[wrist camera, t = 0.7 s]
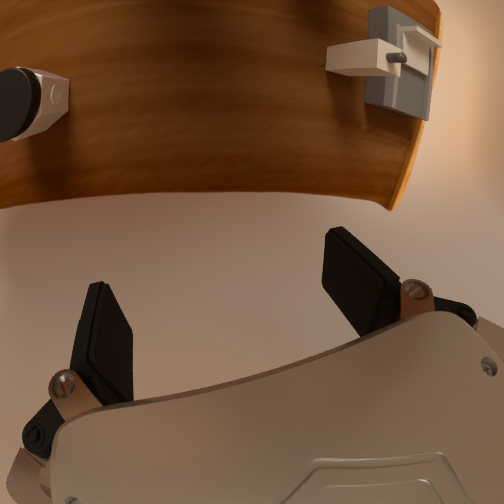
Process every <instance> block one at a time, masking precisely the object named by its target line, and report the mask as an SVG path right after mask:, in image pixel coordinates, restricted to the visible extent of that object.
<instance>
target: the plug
mask: <svg viewBox="0 0 504 504" xmlns="http://www.w3.org/2000/svg"><path fill="white" fill-rule="evenodd" d="M406 62H407V57H406V55H405V54H404V53H403V52H402V49H400V48H398V47H396V46H394V45H392V44H390V43H387V42H385V41H383V40H381V39H379V38H376V39H369V40H362V41H356V42H350V43H344V44H339V45H334V46H330V47H327V57H326V71H330V72H334V73H338V74H342V75H345V76H388V77H400V71H401V63H406Z"/></svg>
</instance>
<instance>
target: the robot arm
mask: <svg viewBox="0 0 504 504" xmlns="http://www.w3.org/2000/svg"><path fill="white" fill-rule="evenodd" d="M399 279H400V277H399V276H398V275H397V274H396V273H395V272H393V271H392V270H391V269H390V268H389V267H388V266H387V265H386V264H385V263H384V262H383V261H382V260H380V259H379V258H378V257H377V256H376V255H375V254H374V253H373V252H371V251H370V250H369V249H368V248H367V247H366V246H365V245H364V244H362V243H361V242H360V241H359V240H358V239H356V237H354V236H353V235H352V234H351V233H350V232H348V231H347V230H346V229H345V228H344V227H342V226H340V227H336V228H331V229H329V231H328V233H326V235H325V249H324V261H323V273H322V285H323V288H324V289H325V291H326V292H327V293H328V294H329V296H330V297H331V298H332V300H333V301H334V302H335V304H336V305H337V306H338V308H339V309H340V310H341V312H342V313H343V314H344V316H345V317H346V318H347V320H348V321H349V322H350V324H351V325H352V326H353V328H354V329H355V330H356V332H357V333H358V334H359V336H360V338H358V339H355V340H353V341H350V342H348V343H345V344H343V345H341V346H338V347H335V348H333V349H330V350H328V351H325V352H322V353H320V354H317V355H314V356H311V357H308V358H306V359H303V360H300V361H297V362H294V363H291V364H288V365H285V366H282V367H279V368H276V369H272V370H269V371H266V372H262V373H259V374H256V375H252V376H248V377H245V378H241V379H237V380H234V381H230V382H226V383H222V384H218V385H214V386H209V387H205V388H200V389H196V390H192V391H187V392H181V393H177V394H171V395H165V396H160V397H154V398H148V399H142V400H136V401H134V396H133V333H132V329H131V327H130V326H129V324H128V322H127V320H126V318H125V316H124V314H123V312H122V310H121V309H120V306H119V304H118V302H117V300H116V298H115V297H114V294H113V292H112V290H111V288H110V286H109V284H105V283H104V282H103V281H100V282H96V283H92V284H90V285H89V288H88V292H87V295H86V299H85V303H84V307H83V310H82V315H81V319H80V320H79V323H78V327H77V332H76V336H75V341H74V346H73V351H72V357H71V362H70V368H69V369H64V370H61V371H59V372H57V373H56V374H55V375H54V376H53V377H52V379H51V381H50V383H49V387H48V390H49V395H50V397H51V399H50V400H49V401H48V402H47V403H46V404H45V405H44V406H43V407H42V408H41V409H40V410H39V411H38V413H37V414H36V415H35V416H34V417H33V418H32V419H31V420H30V421H29V422H28V423H27V424H26V426H25V427H24V430H23V433H22V440H23V444H24V448H23V449H22V448H20V449H19V451H18V454H17V456H16V458H15V461H14V463H13V465H12V467H11V470H10V472H9V475H8V477H7V481H6V485H7V490H8V493H9V494H10V496H11V497H12V498H13V499H14V500H15V501H16V502H17V503H18V504H504V329H503V328H502V327H500V326H498V325H496V324H494V323H492V322H490V321H488V320H486V319H484V318H482V317H480V316H479V318H478V319H477V317H476V314H475V312H474V310H473V309H472V308H471V307H469V306H468V305H466V304H463V303H460V302H455V301H451V300H447V299H443V298H438V297H434V296H433V293H432V290H431V288H430V287H429V286H428V285H427V284H426V283H424V282H422V281H420V280H417V279H408V280H406V281H404V282H403V283H402V284H401V283H400V282H399Z"/></svg>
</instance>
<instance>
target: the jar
mask: <svg viewBox="0 0 504 504" xmlns="http://www.w3.org/2000/svg"><path fill="white" fill-rule="evenodd" d="M68 100H69V80H68V79H66V78H63V77H61V76H58V75H56V74H53V73H50V72H48V71H43V70H37V69H31V68H24V67H13V68H8V69H5V70H3V71H1V72H0V142H4V141H7V140H10V139H11V140H13V141H17V140H20V139H23V138H26V137H28V136H31V135H34V134H37V133H40V132H43V131H46V130H47V129H48V128H49V127H50V126H51V125H53V124H54V123H55V122H56V121H57V120H58V119H59V118H60V117H61V116H63V115H64V114H65V113H66V112H67V111H68Z"/></svg>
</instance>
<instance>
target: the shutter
mask: <svg viewBox="0 0 504 504" xmlns="http://www.w3.org/2000/svg"><path fill="white" fill-rule="evenodd" d="M429 47H441V48H442V42H440V41H439V40H437V39H436V38H435V37H433V36H432V35H430V34H429V33H427V32H426V31H424V30H423V29H421V28H420V27H418V26H405V27H400V49H402V52H403V53H404V54H405V55H406V57H407V62H406V63H402V64H404V65H406V66H408V67H410V68H412V69H414V70H416V71H418V72H420V73H422V74H423V75H427V76H428V71H429Z"/></svg>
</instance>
